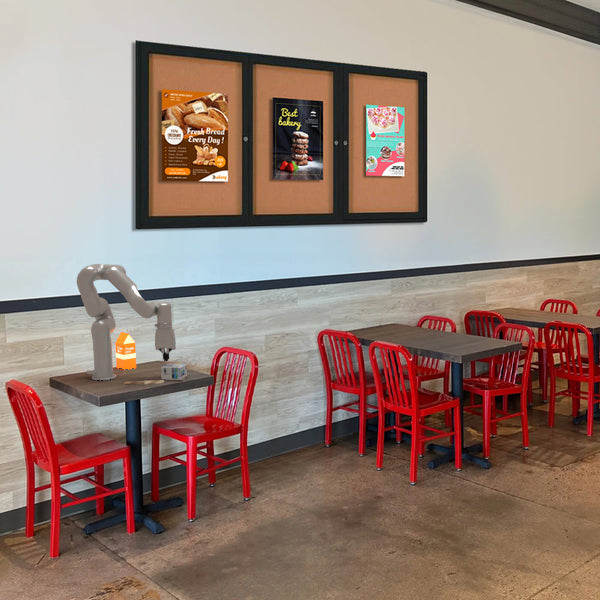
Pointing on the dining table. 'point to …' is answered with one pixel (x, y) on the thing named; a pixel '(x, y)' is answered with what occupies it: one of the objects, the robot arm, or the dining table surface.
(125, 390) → the dining table surface
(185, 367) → the light bulb box
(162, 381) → the beech turner
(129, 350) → the orange juice
